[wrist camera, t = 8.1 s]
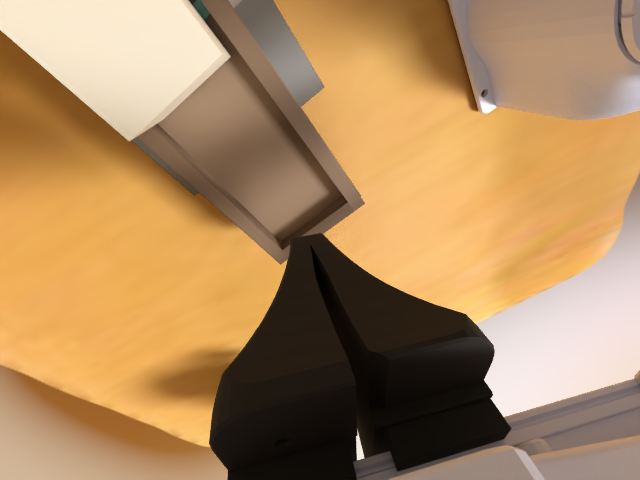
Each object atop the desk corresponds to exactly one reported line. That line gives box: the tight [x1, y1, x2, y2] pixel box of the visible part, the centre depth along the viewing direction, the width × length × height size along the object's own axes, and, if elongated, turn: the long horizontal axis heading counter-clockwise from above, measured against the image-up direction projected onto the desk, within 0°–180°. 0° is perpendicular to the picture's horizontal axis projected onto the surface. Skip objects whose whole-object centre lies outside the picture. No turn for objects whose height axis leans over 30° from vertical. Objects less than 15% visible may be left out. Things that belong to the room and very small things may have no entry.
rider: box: [0, 0, 231, 141], centre depth 9 cm, size 6×4×4 cm
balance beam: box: [132, 0, 365, 264], centre depth 13 cm, size 24×11×5 cm, turn 35°
